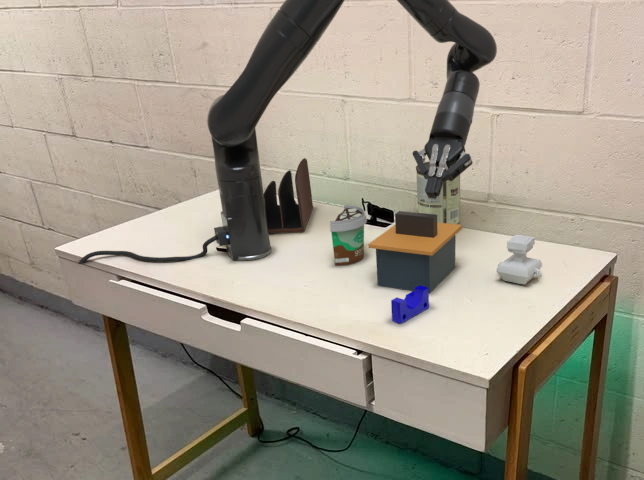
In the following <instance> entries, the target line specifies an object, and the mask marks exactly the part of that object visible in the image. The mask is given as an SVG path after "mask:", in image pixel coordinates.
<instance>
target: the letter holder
mask: <svg viewBox="0 0 644 480" xmlns="http://www.w3.org/2000/svg"><path fill="white" fill-rule="evenodd" d="M294 175H295V176H294V184H295V192H296V199H297V201H296V199H295V193H294V184H293V173H292V171H291V170H290V169H289V170H287V171H286V172H285V173H284V175H283V176H282V178H281V180H280V182H279V186H278V189H277V183H276V181H275V180H271V181H270V182H269V184H268V185H267V187H266V188H265V190H264V191H263V193H264V200H265V208H266V216H267V223H268V231H269V234H290V233H291V234H292V233H293V234H294V233H304V232H306V231H305V230H306V227H307V225H308V222H309V219H310V217H311V214H312V211H313V208H314V204H313V203H314V202H313V196H312V195H313V194H312V187H311V179H310V172H309V165H308V159H307V158H305V157H304V158H302V159H301V160H300V161H299V164H298V165H297V168H296V172H295V174H294Z"/></svg>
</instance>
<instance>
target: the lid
mask: <svg viewBox="0 0 644 480" xmlns="http://www.w3.org/2000/svg"><path fill="white" fill-rule="evenodd" d="M394 221H395V223H394V225H392V226H391V227H390V228H388V229H387V230H386V231H384V232H383V233H381V234H380V235H379V236H377V237H376V238H375V239H374V240H372V241H371V242H369V243H368V249H374V250H376V249H382V250H390V251H398V252H406V253H414V254H422V255H430V256H432V255H433V254H435V253H436V252H437V251H438V250H439V249H440V248H441V247H442V246H443V245H444V244H446V243H447V242H448V241H449V240H450V239H451V238H452V237H453V236H454V235H455V236H456V235H457V234H458V233H459V232H460V231H461V230H462V229H463V224H460V225H457V224H447V223H437V215H435V214H425V213H418V212H413V211H406V210H405V211H404V210H399V211H397V212H395V214H394Z"/></svg>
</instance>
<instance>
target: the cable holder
mask: <svg viewBox="0 0 644 480" xmlns="http://www.w3.org/2000/svg"><path fill="white" fill-rule="evenodd" d="M429 295H430V293H429V288H428V287H424V286H421V285H419V286H417V287H415V290H414V291H411V292H409V293H407V294H406V295H405V297H404V298H400V297H397V296H396V297H394V298H392V299H391V300H390V304H391V322H393V323H397V324H400V325H402V324H404V323H405V322H408V321H409V320H411V319H412V318H414V317H417V315H420V314H421V313H423V312H425V311H427V310H429V308H430V297H429Z"/></svg>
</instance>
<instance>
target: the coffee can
mask: <svg viewBox="0 0 644 480" xmlns="http://www.w3.org/2000/svg"><path fill="white" fill-rule="evenodd" d="M423 163H424V165H425V167H426V169H427V170H429V169H430V161H429V160H428V161H425V162H423ZM454 164H455V163H454ZM415 172H416V201H417V203H416V204H417V213H425V214H435V215H437V223H447V224H457V225H461V174H460V175H459V176H458V177H456V178H455V179H454V180H453V181H449V180H447V181H445V182H444V183H443V185H442V189H441V192H440V195H439V196H437V198H436V199H432V198H428V196H427V194H426V192H425V188H426V184H427V181H428V179H425V178H424V176H423V174H422V172H421V170H420V168H419V166H418V164H417V165H416V166H415Z"/></svg>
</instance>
